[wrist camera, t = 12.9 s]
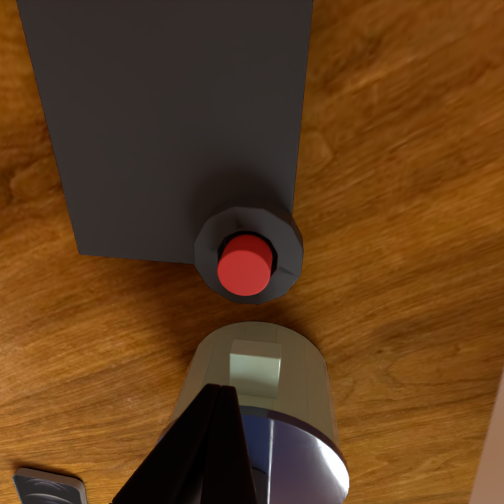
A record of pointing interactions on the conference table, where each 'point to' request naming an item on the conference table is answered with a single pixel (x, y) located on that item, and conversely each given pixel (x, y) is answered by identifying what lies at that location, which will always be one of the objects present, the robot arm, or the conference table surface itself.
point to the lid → (291, 459)
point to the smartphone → (47, 488)
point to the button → (245, 265)
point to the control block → (176, 125)
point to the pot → (264, 373)
